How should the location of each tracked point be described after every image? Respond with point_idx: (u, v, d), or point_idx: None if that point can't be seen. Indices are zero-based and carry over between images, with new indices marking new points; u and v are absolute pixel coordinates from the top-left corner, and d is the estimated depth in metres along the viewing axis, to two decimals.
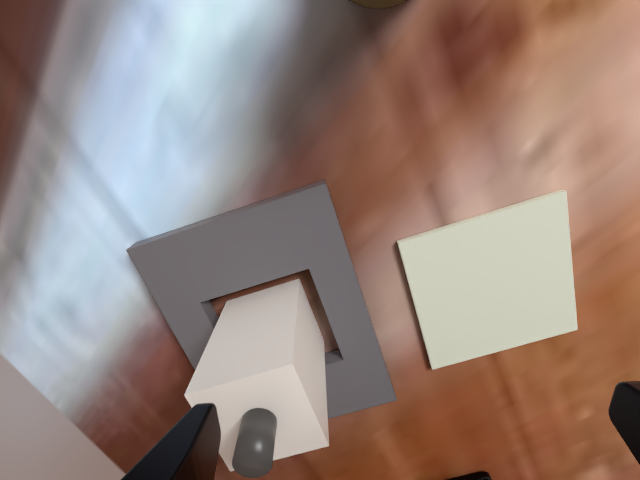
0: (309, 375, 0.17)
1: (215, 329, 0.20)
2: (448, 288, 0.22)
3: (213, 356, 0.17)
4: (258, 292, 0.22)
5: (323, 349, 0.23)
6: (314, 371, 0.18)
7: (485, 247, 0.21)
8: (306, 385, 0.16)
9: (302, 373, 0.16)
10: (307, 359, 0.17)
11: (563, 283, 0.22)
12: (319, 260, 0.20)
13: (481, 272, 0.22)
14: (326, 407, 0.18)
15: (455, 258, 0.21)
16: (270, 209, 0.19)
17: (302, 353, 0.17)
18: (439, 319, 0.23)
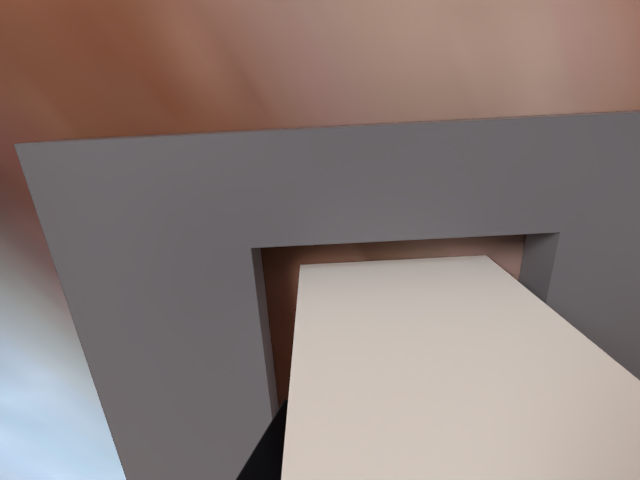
0: None
1: None
2: None
3: None
4: None
5: (501, 274, 0.08)
6: (515, 424, 0.04)
7: None
8: None
9: None
10: (436, 454, 0.04)
11: None
12: (233, 216, 0.08)
13: None
14: None
15: None
16: (80, 290, 0.08)
17: None
18: None
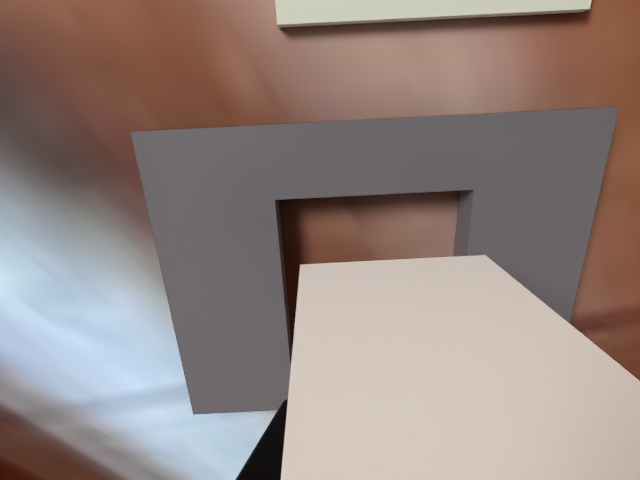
0: None
1: None
2: None
3: None
4: None
5: (500, 274, 0.08)
6: (514, 422, 0.04)
7: None
8: None
9: None
10: (435, 452, 0.04)
11: None
12: (264, 178, 0.12)
13: None
14: None
15: None
16: (163, 228, 0.12)
17: None
18: None
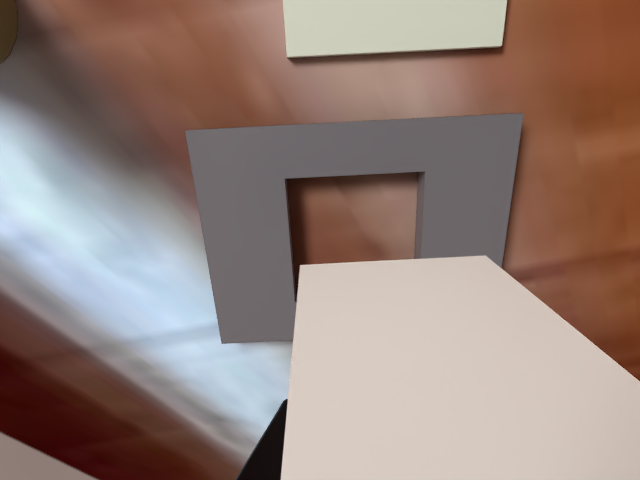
0: None
1: None
2: None
3: None
4: None
5: (500, 274, 0.08)
6: (515, 424, 0.04)
7: None
8: None
9: None
10: (435, 454, 0.04)
11: None
12: (277, 163, 0.17)
13: None
14: None
15: None
16: (204, 199, 0.18)
17: None
18: (419, 17, 0.16)
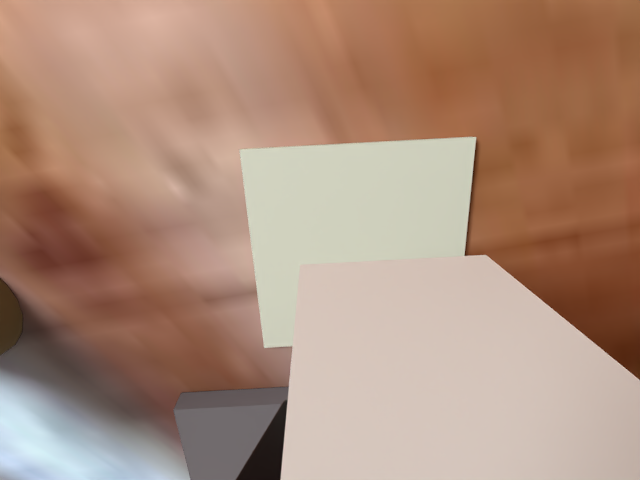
0: None
1: None
2: None
3: None
4: None
5: (501, 274, 0.08)
6: (516, 424, 0.04)
7: (295, 256, 0.16)
8: None
9: None
10: (436, 454, 0.04)
11: (383, 157, 0.15)
12: (256, 430, 0.19)
13: None
14: None
15: None
16: (192, 455, 0.19)
17: None
18: None
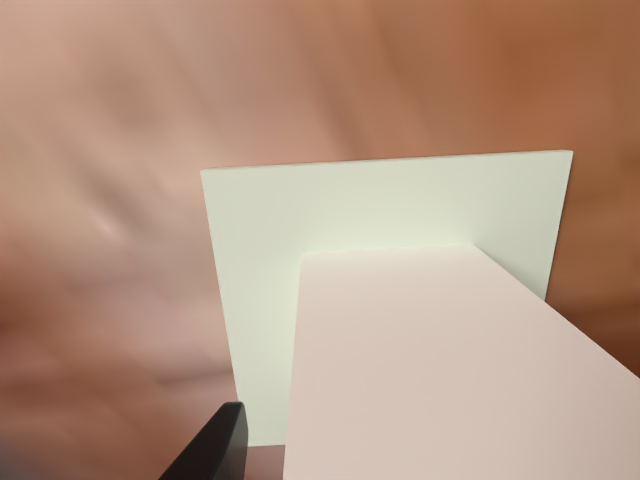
0: (464, 446, 0.04)
1: None
2: None
3: None
4: None
5: (485, 260, 0.09)
6: (485, 376, 0.05)
7: (289, 326, 0.11)
8: None
9: None
10: (417, 398, 0.05)
11: (426, 182, 0.10)
12: None
13: None
14: None
15: None
16: None
17: (370, 424, 0.04)
18: None
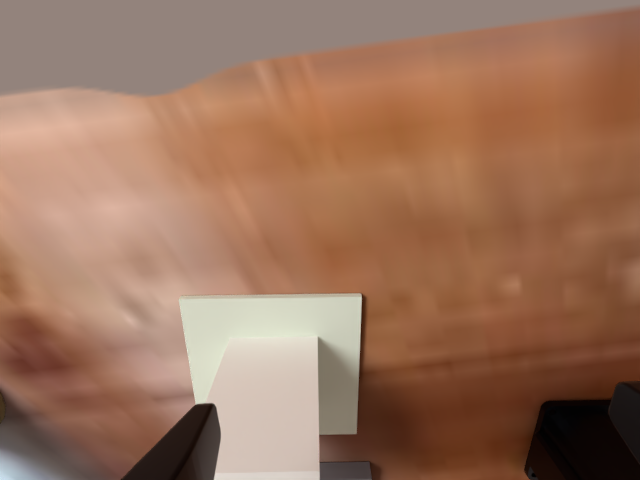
0: (246, 434, 0.14)
1: None
2: None
3: None
4: None
5: (314, 349, 0.19)
6: (269, 411, 0.15)
7: None
8: (232, 458, 0.13)
9: None
10: (241, 418, 0.14)
11: (291, 307, 0.19)
12: None
13: None
14: (314, 421, 0.14)
15: None
16: None
17: (222, 426, 0.14)
18: None
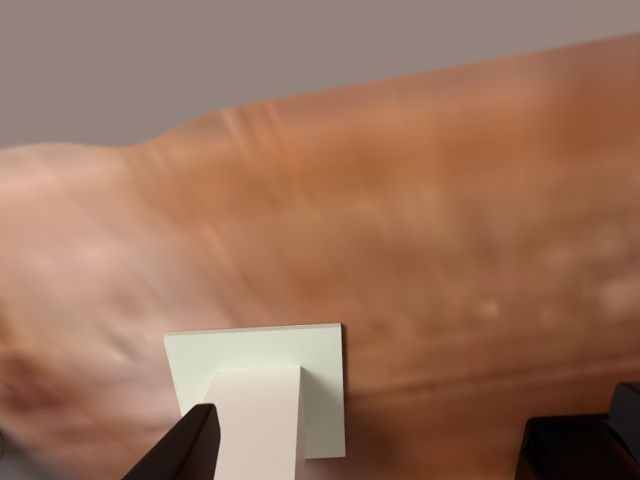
0: (225, 475, 0.14)
1: None
2: None
3: None
4: None
5: (296, 380, 0.19)
6: (248, 450, 0.15)
7: None
8: None
9: None
10: (221, 458, 0.15)
11: (272, 340, 0.20)
12: None
13: None
14: (291, 459, 0.15)
15: None
16: None
17: None
18: None
